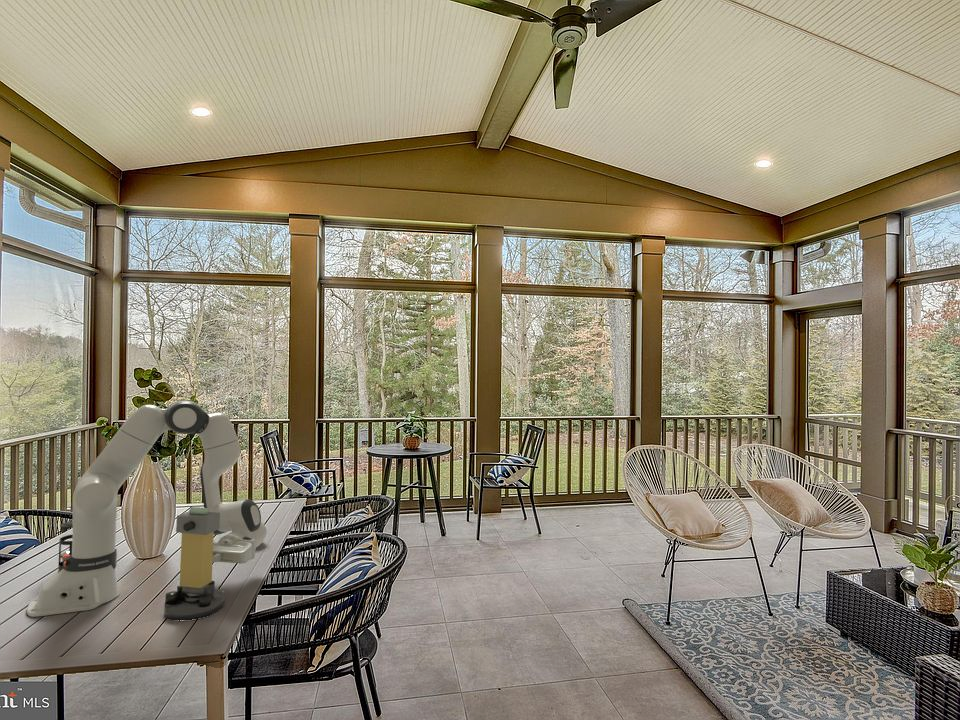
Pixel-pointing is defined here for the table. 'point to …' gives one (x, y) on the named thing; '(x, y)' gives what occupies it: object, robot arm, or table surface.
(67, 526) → the french press
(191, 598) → the levelling base
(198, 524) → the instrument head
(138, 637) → the table surface
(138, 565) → the table surface
